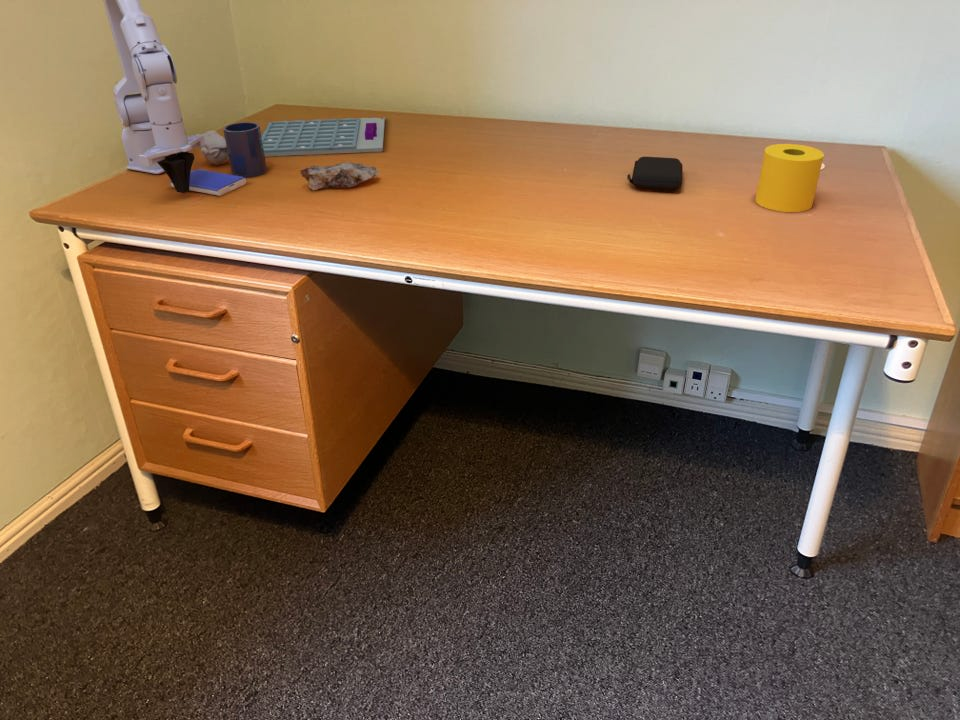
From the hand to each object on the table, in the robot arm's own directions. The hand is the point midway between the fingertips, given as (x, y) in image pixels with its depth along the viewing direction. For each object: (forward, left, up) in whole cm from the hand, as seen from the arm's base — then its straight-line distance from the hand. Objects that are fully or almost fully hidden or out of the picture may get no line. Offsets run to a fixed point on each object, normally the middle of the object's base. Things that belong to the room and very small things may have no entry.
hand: (183, 191), depth 147 cm
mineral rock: (+24, +18, -1) cm, 31 cm away
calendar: (+1, +44, -1) cm, 44 cm away
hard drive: (0, +7, -1) cm, 7 cm away
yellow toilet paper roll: (+106, +43, -1) cm, 115 cm away
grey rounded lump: (-8, +18, -1) cm, 20 cm away
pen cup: (+2, +17, -1) cm, 17 cm away
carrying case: (+81, +45, -1) cm, 93 cm away
